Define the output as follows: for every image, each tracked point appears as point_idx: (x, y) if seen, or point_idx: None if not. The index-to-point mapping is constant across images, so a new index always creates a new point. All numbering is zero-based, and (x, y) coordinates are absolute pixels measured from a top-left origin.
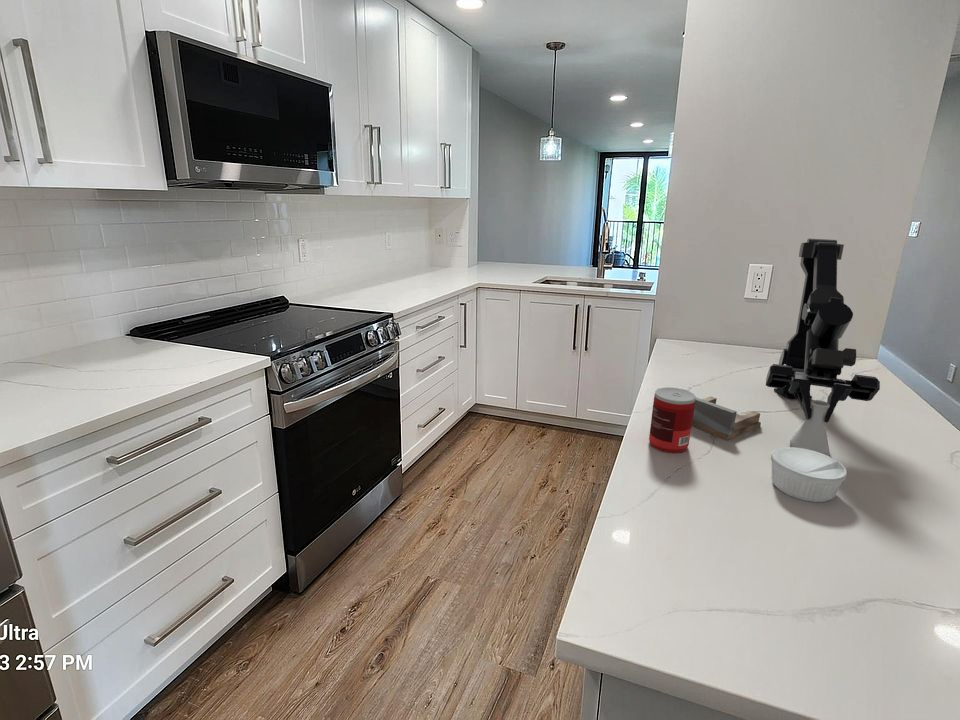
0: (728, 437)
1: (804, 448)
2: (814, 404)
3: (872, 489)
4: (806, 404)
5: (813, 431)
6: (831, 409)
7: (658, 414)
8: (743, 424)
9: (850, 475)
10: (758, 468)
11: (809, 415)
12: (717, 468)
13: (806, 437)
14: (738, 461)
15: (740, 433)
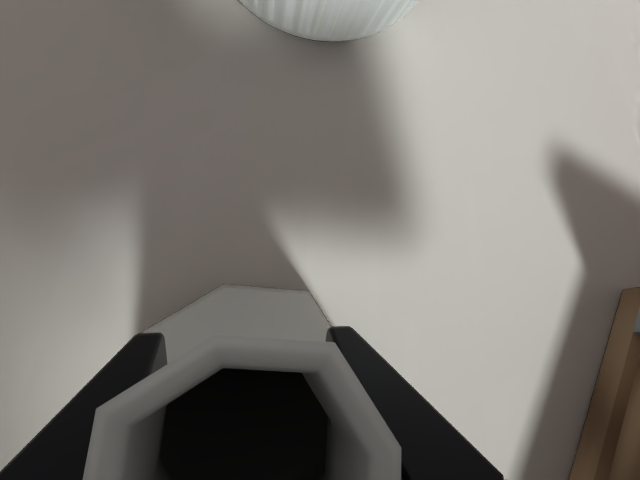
0: (630, 299)
1: (290, 293)
2: (350, 376)
3: (20, 32)
4: (439, 427)
5: (263, 320)
6: (65, 442)
7: None
8: (634, 469)
9: (85, 138)
10: (465, 58)
11: (344, 334)
12: (583, 10)
13: (298, 310)
14: (537, 90)
15: (595, 409)
